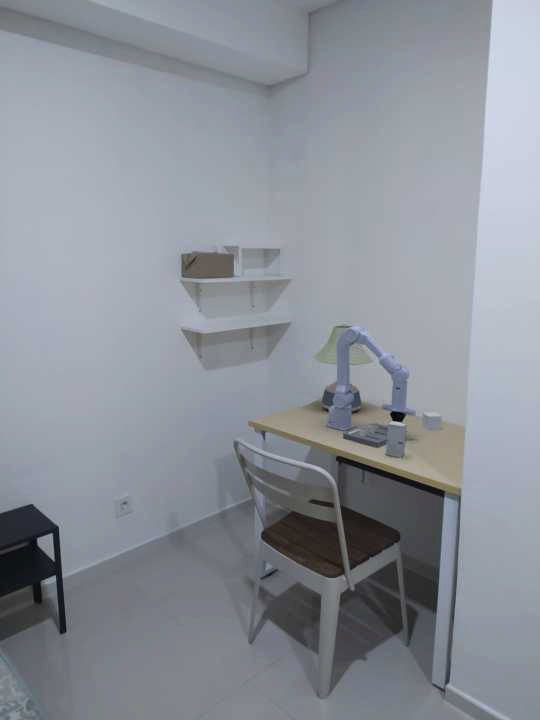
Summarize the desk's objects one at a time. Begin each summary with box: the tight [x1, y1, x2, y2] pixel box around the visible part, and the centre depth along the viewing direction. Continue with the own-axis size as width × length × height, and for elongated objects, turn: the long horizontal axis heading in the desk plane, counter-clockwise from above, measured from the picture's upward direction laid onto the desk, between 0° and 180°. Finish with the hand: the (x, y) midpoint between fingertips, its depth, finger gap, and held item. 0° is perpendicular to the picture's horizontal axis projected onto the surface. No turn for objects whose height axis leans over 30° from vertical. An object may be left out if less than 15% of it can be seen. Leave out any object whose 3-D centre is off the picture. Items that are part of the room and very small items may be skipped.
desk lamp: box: [313, 322, 374, 413], centre depth 263 cm, size 26×28×42 cm
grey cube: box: [421, 412, 443, 431], centre depth 239 cm, size 6×6×6 cm
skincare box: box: [385, 420, 408, 458], centre depth 203 cm, size 6×4×12 cm
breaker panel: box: [342, 422, 408, 449], centre depth 224 cm, size 16×22×5 cm
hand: (397, 429), depth 225 cm, fingers closed
